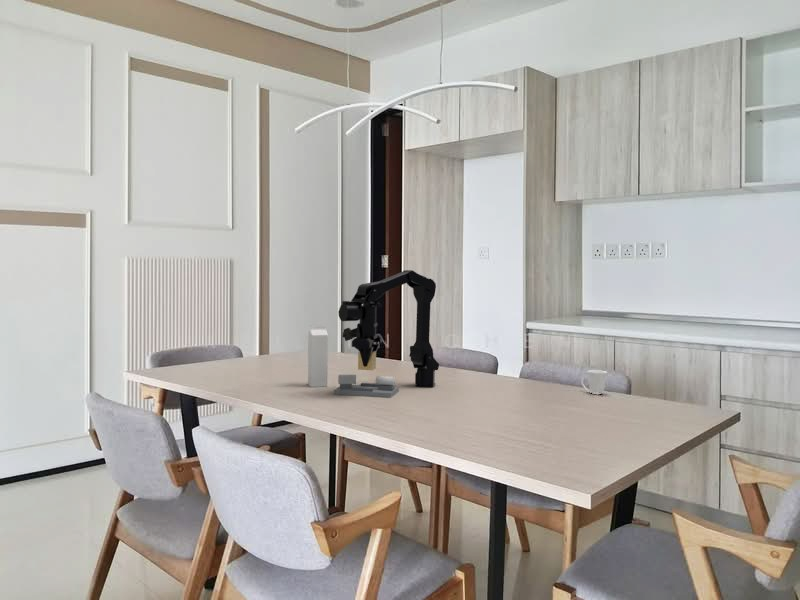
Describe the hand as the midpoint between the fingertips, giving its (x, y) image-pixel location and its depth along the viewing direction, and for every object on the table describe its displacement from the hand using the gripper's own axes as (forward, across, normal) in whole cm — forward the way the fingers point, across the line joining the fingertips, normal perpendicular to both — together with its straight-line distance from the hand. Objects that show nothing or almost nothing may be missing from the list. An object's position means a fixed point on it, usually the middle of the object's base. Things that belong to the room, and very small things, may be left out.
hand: (367, 365), depth 222 cm
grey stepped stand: (+10, 0, 0) cm, 10 cm away
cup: (+10, -23, +77) cm, 81 cm away
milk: (+10, -8, -21) cm, 25 cm away
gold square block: (+1, 0, 0) cm, 1 cm away
